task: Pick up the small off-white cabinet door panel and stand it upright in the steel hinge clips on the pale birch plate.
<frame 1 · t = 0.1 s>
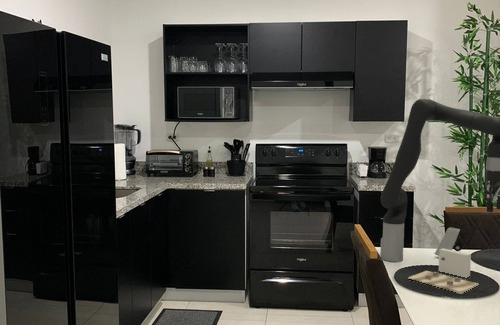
hand: (494, 210, 195), 29 cm above the table, tool pointing down, fingers open, 8 cm apart
door panel: (453, 275, 208), on the table
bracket: (445, 258, 233), on the table
hinge plate: (442, 282, 198), on the table
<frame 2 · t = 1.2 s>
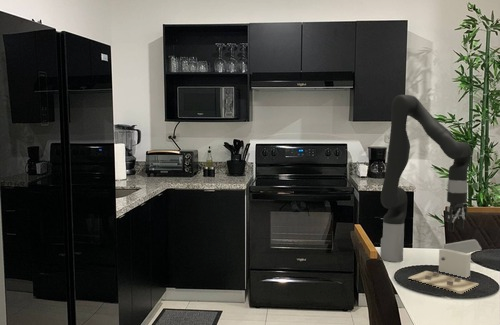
hand: (455, 229, 206), 19 cm above the table, tool pointing down, fingers open, 8 cm apart
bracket: (446, 254, 232), point 2 cm above the table
everything else where it was.
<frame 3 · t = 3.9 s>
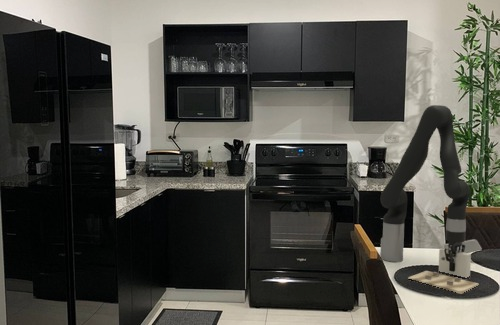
hand: (454, 270, 208), 2 cm above the table, tool pointing down, fingers closed on door panel, 3 cm apart
door panel: (453, 275, 208), on the table, touching gripper
everything else where it was.
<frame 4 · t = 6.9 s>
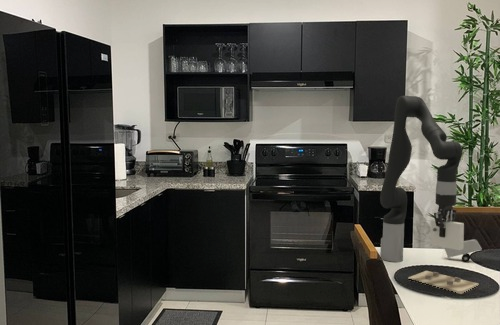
hand: (444, 236, 196), 19 cm above the table, tool pointing down, fingers closed on door panel, 3 cm apart
door panel: (446, 246, 196), point 15 cm above the table, touching gripper
everything else where it was.
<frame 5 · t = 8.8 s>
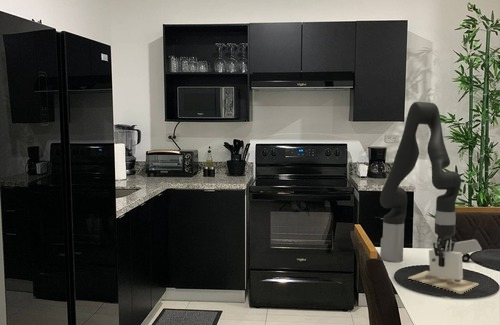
hand: (443, 265, 197), 7 cm above the table, tool pointing down, fingers closed on door panel, 3 cm apart
door panel: (446, 276, 197), point 3 cm above the table, tilted 5°, touching gripper
everything else where it was.
when the fingers open (5 cm above the table, at t = 10.1 s): door panel stays where it is, resting on hinge plate.
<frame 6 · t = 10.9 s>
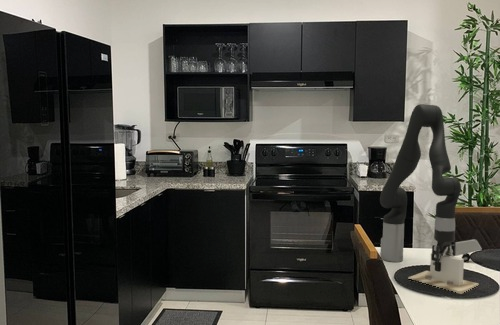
hand: (443, 269, 197), 6 cm above the table, tool pointing down, fingers open, 8 cm apart
door panel: (446, 281, 197), point 1 cm above the table, touching hinge plate
everything else where it was.
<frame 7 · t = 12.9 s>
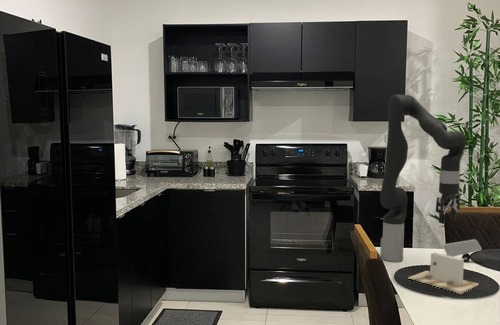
hand: (447, 221, 202), 23 cm above the table, tool pointing down, fingers open, 8 cm apart
nothing on the table moved.
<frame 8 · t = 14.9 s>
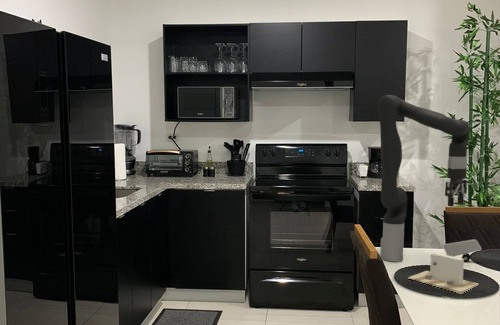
hand: (455, 205, 213), 28 cm above the table, tool pointing down, fingers open, 8 cm apart
nothing on the table moved.
at the end: door panel 1.4 cm off-centre on the hinge plate, point 1.0 cm above the hinge plate's base; door panel tilted 0°; the gripper is holding nothing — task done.
